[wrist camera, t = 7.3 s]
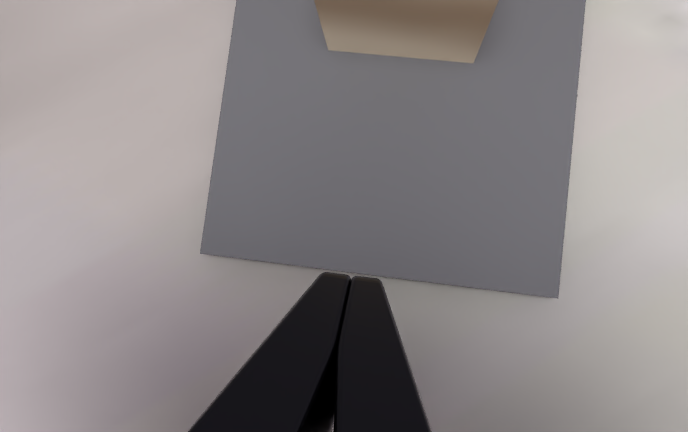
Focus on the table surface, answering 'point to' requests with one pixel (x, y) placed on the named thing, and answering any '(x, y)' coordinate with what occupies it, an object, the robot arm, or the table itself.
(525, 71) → the rubber mat
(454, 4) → the maple block
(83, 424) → the table surface
